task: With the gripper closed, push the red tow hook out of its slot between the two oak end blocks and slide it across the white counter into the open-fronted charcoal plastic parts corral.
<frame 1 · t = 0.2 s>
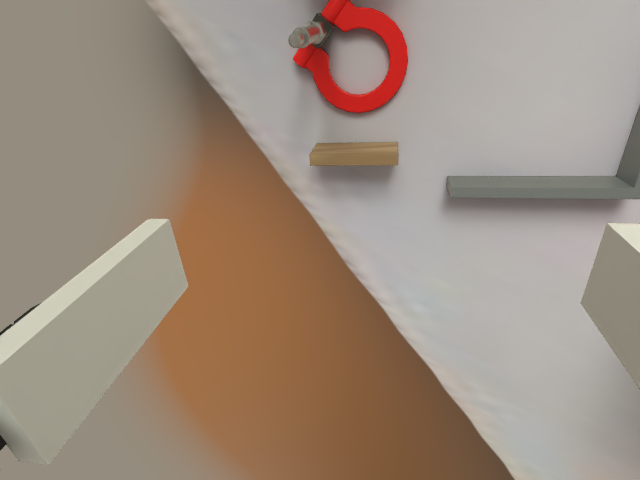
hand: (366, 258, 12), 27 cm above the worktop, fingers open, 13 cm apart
tow hook: (355, 58, 34), on the worktop
tray: (563, 48, 31), on the worktop
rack: (355, 59, 34), on the worktop
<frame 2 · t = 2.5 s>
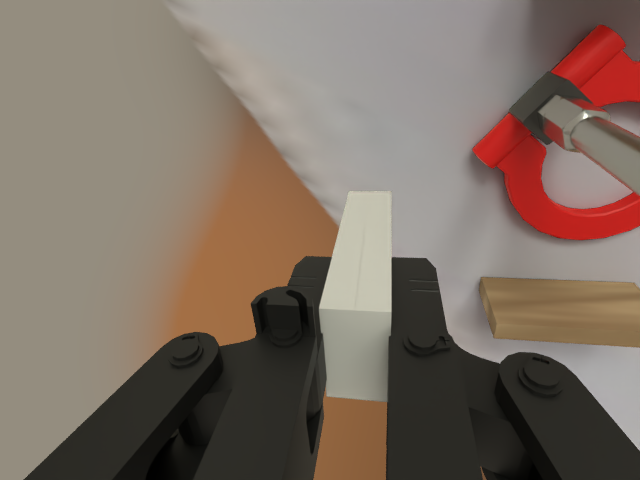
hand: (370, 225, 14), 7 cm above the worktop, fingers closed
tow hook: (589, 149, 18), on the worktop
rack: (592, 151, 18), on the worktop
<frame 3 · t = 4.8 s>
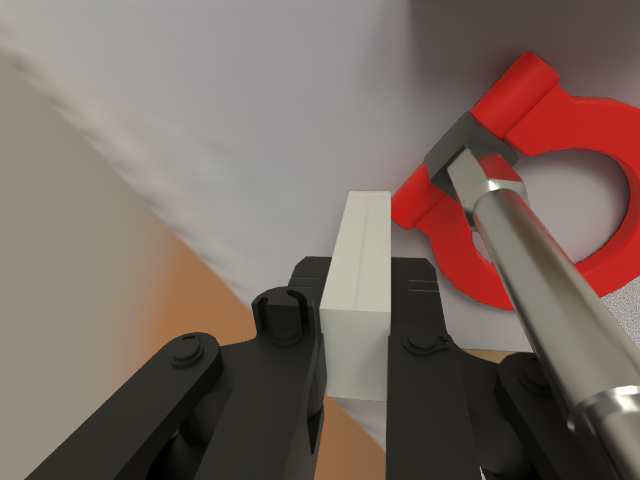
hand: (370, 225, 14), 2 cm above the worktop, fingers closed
tow hook: (533, 203, 14), on the worktop, touching gripper
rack: (509, 205, 14), on the worktop
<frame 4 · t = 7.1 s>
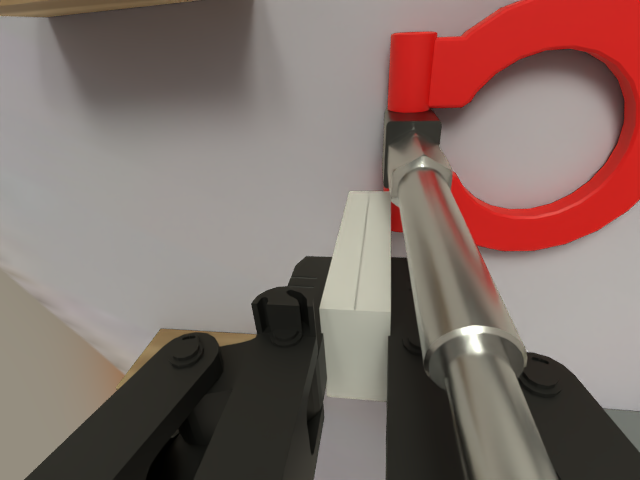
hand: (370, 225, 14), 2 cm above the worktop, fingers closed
tow hook: (516, 132, 13), on the worktop, touching gripper
tray: (630, 203, 14), on the worktop
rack: (195, 204, 17), on the worktop
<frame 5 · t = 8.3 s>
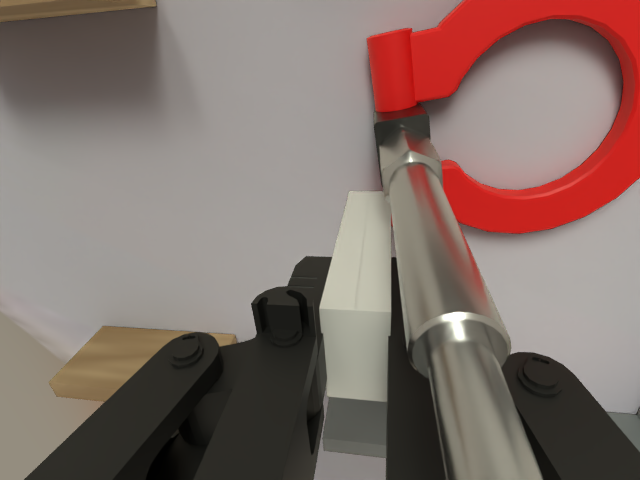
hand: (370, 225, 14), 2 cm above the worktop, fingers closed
tow hook: (511, 112, 13), on the worktop
tray: (523, 206, 14), on the worktop
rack: (123, 205, 17), on the worktop
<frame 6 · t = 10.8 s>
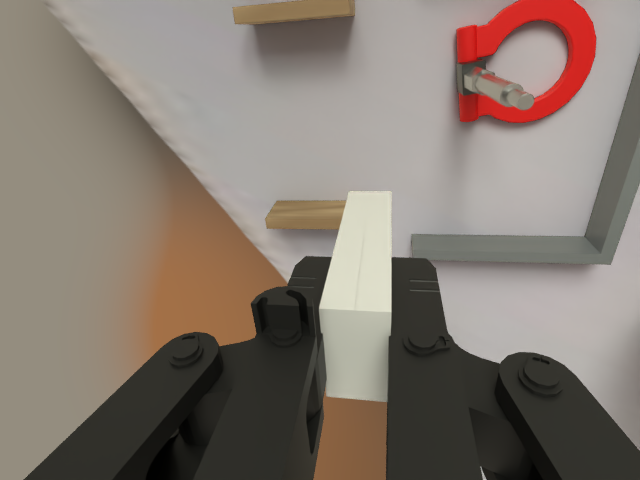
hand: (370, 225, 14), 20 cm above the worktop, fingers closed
tow hook: (519, 63, 28), on the worktop
tray: (522, 111, 30), on the worktop
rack: (310, 120, 33), on the worktop
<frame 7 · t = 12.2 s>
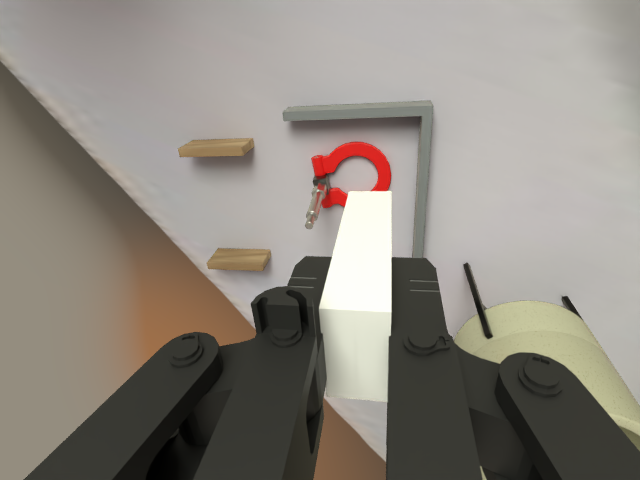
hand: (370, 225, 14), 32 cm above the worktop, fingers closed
planter: (498, 300, 53), on the worktop
tow hook: (353, 174, 47), on the worktop
tray: (359, 201, 49), on the worktop
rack: (234, 201, 52), on the worktop
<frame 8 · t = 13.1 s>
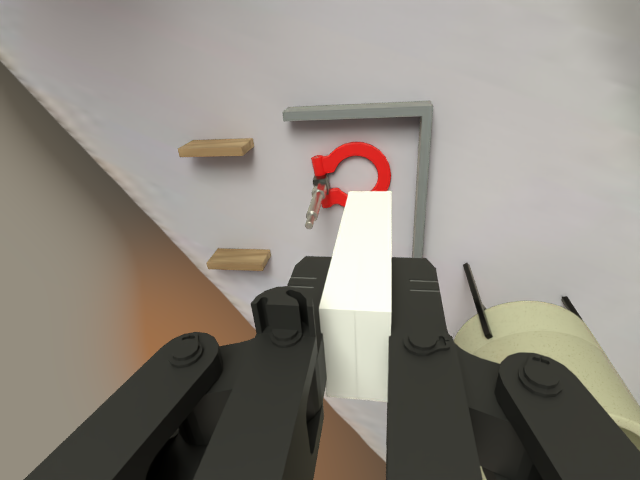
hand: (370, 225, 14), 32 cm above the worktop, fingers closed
planter: (498, 300, 53), on the worktop
tow hook: (353, 174, 47), on the worktop
tray: (359, 201, 49), on the worktop
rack: (234, 201, 52), on the worktop
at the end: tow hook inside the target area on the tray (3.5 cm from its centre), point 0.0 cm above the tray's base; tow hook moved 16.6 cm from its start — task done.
